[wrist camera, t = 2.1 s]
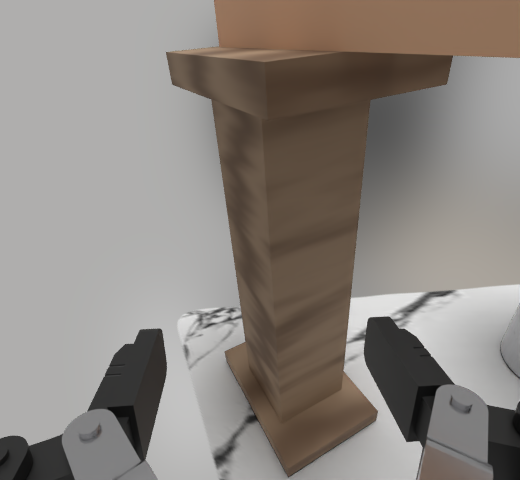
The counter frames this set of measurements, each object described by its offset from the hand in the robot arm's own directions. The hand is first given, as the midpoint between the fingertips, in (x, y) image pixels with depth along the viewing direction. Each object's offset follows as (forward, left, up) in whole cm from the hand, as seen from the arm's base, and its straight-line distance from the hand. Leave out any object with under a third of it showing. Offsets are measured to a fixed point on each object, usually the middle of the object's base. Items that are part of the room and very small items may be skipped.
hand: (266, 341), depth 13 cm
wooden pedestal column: (-10, -8, -23) cm, 26 cm away
